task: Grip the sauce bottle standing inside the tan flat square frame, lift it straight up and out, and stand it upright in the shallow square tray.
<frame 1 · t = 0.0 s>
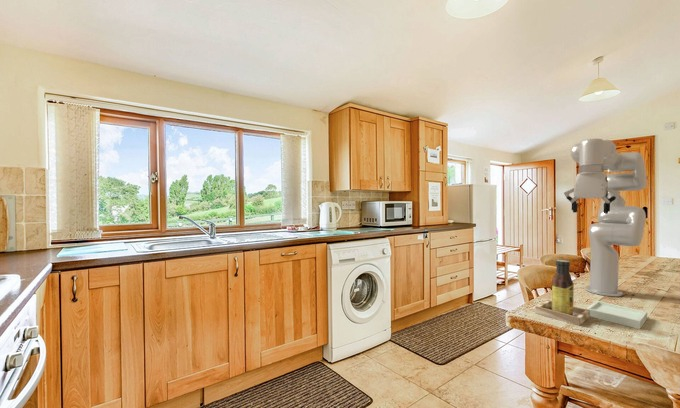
hand: (590, 212, 118), 37 cm above the table, tool pointing down, fingers open, 9 cm apart
tan flat square frame: (562, 315, 107), on the table
sauce bottle: (562, 315, 107), resting in tan flat square frame
shallow square tray: (615, 316, 106), on the table
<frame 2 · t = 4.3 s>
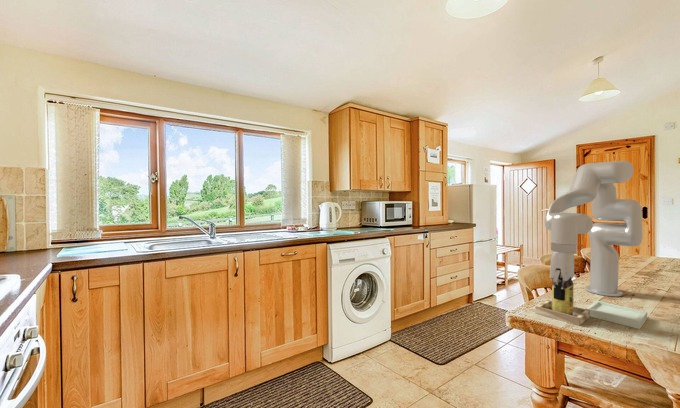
hand: (562, 297, 107), 7 cm above the table, tool pointing down, fingers closed on sauce bottle, 6 cm apart
sauce bottle: (562, 315, 107), resting in tan flat square frame, touching gripper
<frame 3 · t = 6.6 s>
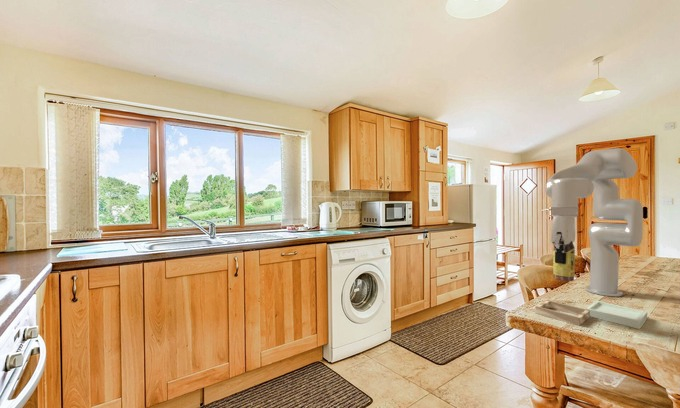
hand: (563, 261, 107), 20 cm above the table, tool pointing down, fingers closed on sauce bottle, 6 cm apart
sauce bottle: (563, 280, 107), point 13 cm above the table, touching gripper
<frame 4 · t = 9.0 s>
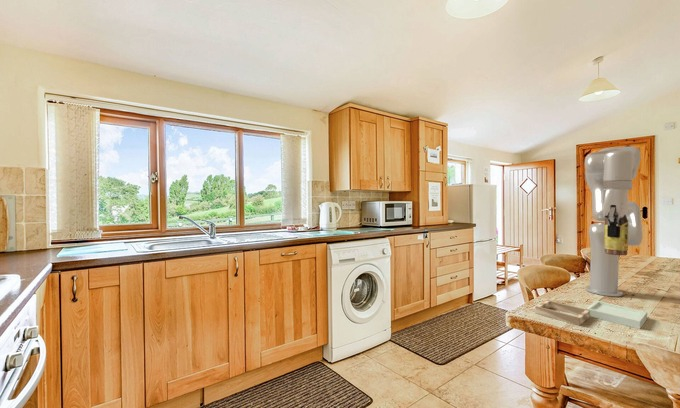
hand: (616, 235, 105), 29 cm above the table, tool pointing down, fingers closed on sauce bottle, 6 cm apart
sauce bottle: (615, 254, 105), point 22 cm above the table, touching gripper
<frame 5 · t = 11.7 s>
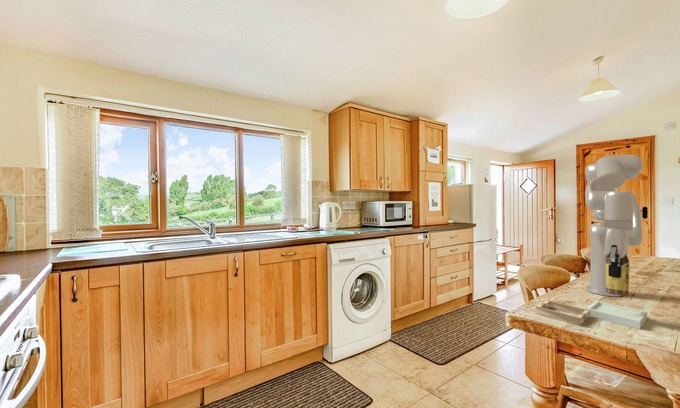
hand: (616, 275, 105), 15 cm above the table, tool pointing down, fingers closed on sauce bottle, 6 cm apart
sauce bottle: (616, 293, 105), point 8 cm above the table, touching gripper
when the fingers open (9 cm above the table, at t = 13.8 s): sauce bottle drops 1 cm, resting on shallow square tray.
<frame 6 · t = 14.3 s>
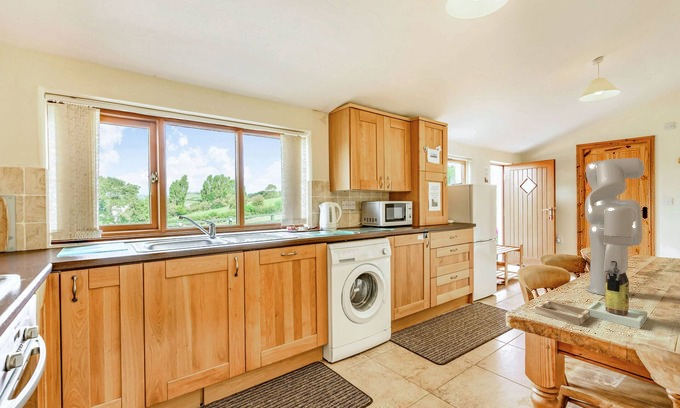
hand: (616, 288, 105), 10 cm above the table, tool pointing down, fingers open, 9 cm apart
sauce bottle: (616, 313, 106), point 1 cm above the table, touching shallow square tray
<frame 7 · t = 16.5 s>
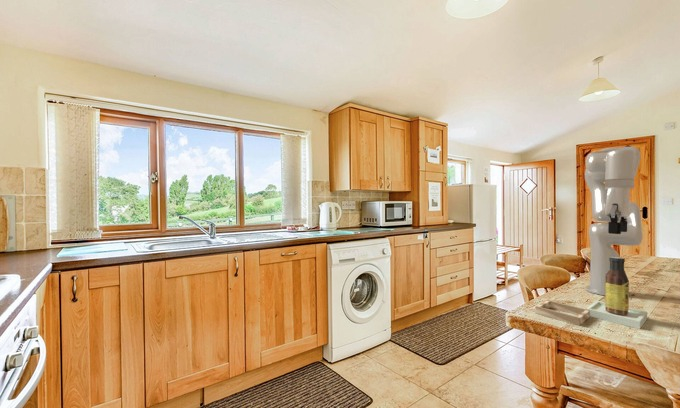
hand: (617, 232, 105), 30 cm above the table, tool pointing down, fingers open, 9 cm apart
nothing on the table moved.
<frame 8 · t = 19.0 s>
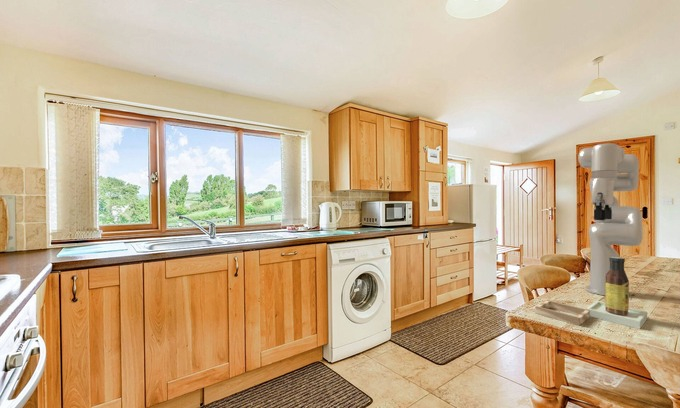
hand: (602, 219, 115), 34 cm above the table, tool pointing down, fingers open, 9 cm apart
nothing on the table moved.
at the end: sauce bottle 0.4 cm off-centre on the shallow square tray, point 1.3 cm above the shallow square tray's base; sauce bottle tilted 0°; the gripper is holding nothing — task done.
